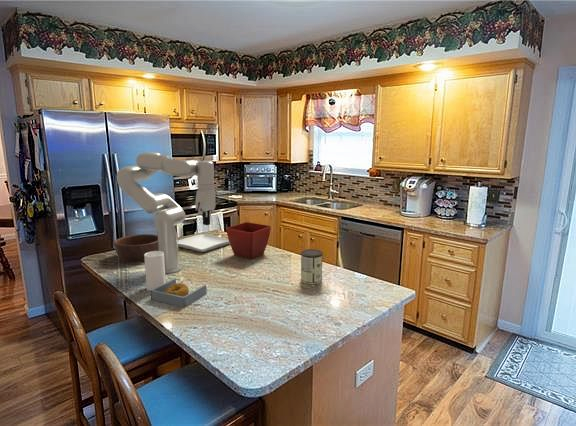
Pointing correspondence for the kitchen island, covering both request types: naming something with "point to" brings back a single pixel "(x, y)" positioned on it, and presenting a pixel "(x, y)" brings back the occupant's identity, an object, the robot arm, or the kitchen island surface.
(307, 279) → the coffee can
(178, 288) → the bagel
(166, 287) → the box
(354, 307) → the kitchen island surface
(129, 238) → the wooden bowl
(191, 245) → the square plate
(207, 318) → the kitchen island surface
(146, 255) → the cup
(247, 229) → the plant pot
